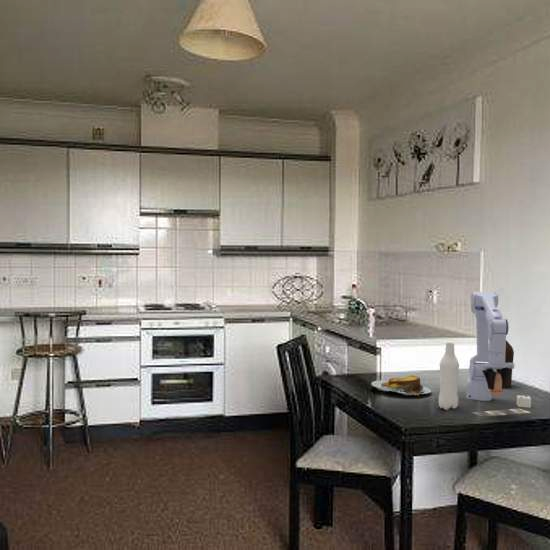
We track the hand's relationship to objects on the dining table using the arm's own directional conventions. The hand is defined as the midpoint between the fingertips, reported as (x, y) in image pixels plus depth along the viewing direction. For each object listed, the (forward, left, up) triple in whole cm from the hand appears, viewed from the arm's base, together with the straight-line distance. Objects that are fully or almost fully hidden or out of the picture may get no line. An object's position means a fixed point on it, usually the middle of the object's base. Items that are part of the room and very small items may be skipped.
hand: (495, 388), depth 223 cm
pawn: (0, 0, -2) cm, 2 cm away
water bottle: (-17, +1, -10) cm, 20 cm away
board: (+2, +2, -10) cm, 10 cm away
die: (+8, +18, -10) cm, 22 cm away
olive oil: (-6, +55, -10) cm, 56 cm away
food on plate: (-41, +19, -11) cm, 46 cm away
